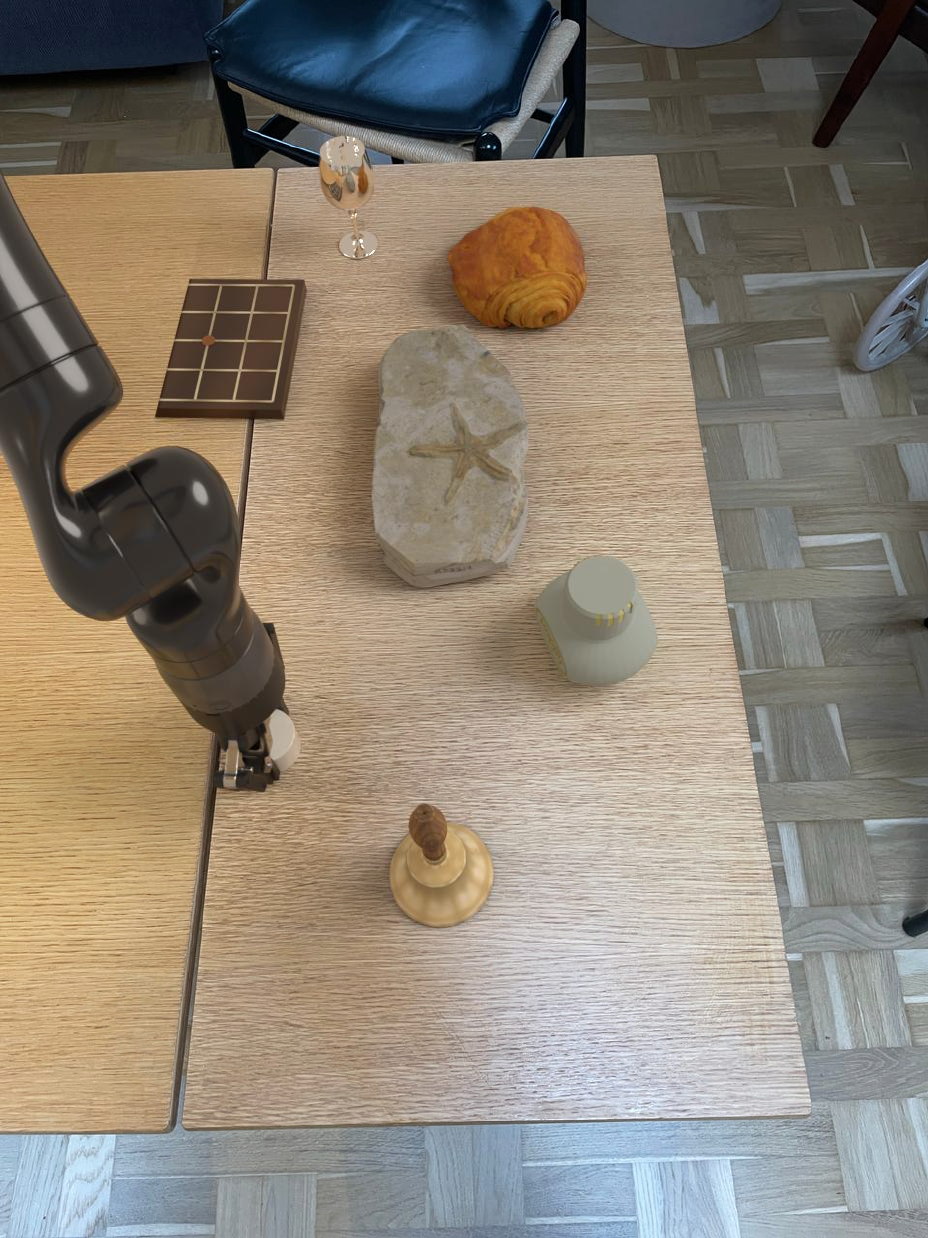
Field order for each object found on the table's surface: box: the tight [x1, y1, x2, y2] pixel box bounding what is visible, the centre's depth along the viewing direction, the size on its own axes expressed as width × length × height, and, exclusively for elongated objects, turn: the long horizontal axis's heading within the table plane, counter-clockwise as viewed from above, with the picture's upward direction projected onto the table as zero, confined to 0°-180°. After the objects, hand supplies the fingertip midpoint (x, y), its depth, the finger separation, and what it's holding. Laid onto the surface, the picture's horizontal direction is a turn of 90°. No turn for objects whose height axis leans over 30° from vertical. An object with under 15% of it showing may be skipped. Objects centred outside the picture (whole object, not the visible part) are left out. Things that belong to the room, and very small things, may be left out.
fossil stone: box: [370, 323, 530, 588], centre depth 94 cm, size 28×15×5 cm, turn 0°
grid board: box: [154, 278, 308, 420], centre depth 104 cm, size 18×18×2 cm
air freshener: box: [533, 554, 659, 687], centre depth 82 cm, size 11×8×10 cm
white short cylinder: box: [269, 709, 302, 773], centre depth 82 cm, size 5×5×3 cm
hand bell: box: [388, 802, 495, 928], centre depth 71 cm, size 8×8×16 cm
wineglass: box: [318, 135, 379, 260], centre depth 105 cm, size 6×6×12 cm
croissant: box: [446, 205, 588, 330], centre depth 104 cm, size 14×16×8 cm
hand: (272, 746), depth 83 cm, fingers closed on white short cylinder, 4 cm apart
